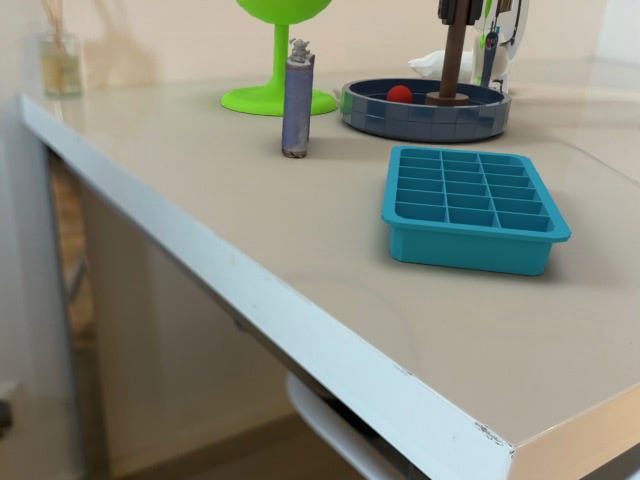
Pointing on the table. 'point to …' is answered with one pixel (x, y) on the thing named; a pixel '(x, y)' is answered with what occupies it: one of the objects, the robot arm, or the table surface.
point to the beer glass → (497, 41)
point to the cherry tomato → (400, 95)
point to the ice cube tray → (470, 210)
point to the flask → (297, 99)
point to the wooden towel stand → (452, 61)
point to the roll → (441, 66)
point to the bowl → (424, 111)
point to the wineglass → (277, 58)
